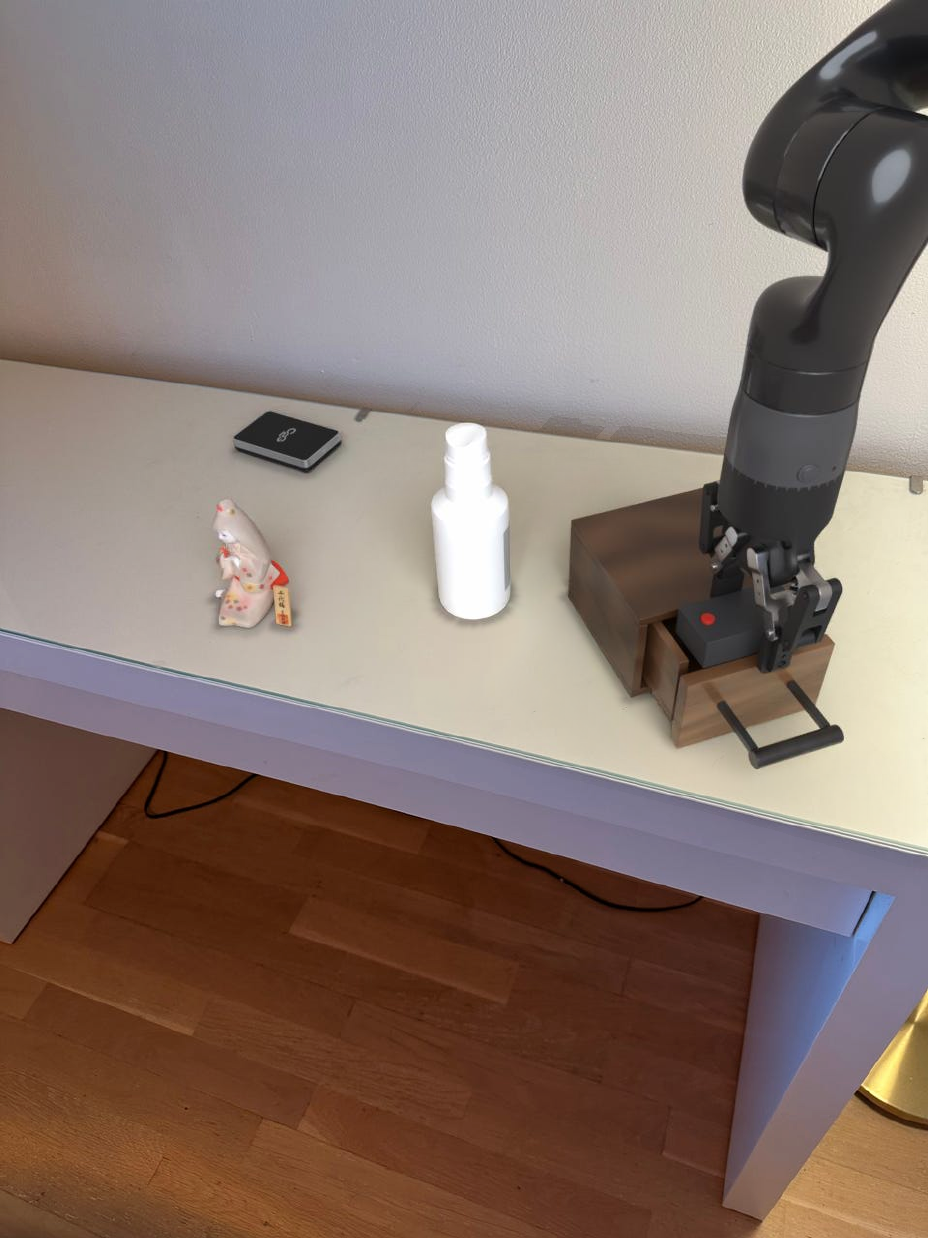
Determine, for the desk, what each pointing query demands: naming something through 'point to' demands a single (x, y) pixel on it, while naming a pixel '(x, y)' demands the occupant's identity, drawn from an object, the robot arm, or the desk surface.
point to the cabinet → (638, 575)
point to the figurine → (248, 571)
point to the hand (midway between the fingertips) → (745, 637)
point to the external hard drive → (287, 441)
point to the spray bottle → (471, 529)
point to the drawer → (737, 695)
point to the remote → (724, 626)
